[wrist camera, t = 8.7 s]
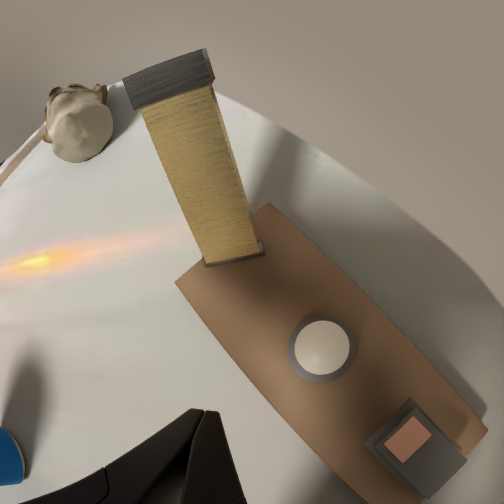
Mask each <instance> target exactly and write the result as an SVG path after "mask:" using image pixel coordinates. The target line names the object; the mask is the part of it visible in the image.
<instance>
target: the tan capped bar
mask: <svg viewBox="0 0 504 504" xmlns="http://www.w3.org/2000/svg"><path fill="white" fill-rule="evenodd" d="M214 79H215V76H214V73H213V70H212V66H211V63H210V60H209V57H208V54H207V50H206V48H204V49H200V50H197V51H194V52H191V53H187V54H185V55H182V56H179V57H176V58H173V59H170V60H167V61H164V62H162V63H160V64H157V65H154V66H151V67H149V68H146V69H144V70H142V71H139V72H137V73H134V74H132V75H130V76H128V77H125V78H123V79H122V81H123V83H124V86H125V89H126V91H127V94H128V96H129V99H130V102H131V104H132V107H133V109H134V110H136V109H138V108H140V111H141V113H142V116H143V118H144V121H145V124H146V126H147V129H148V131H149V133H150V136H151V138H152V141H153V143H154V146H155V148H156V151H157V153H158V155H159V158H160V160H161V163H162V165H163V167H164V170H165V172H166V174H167V177H168V179H169V181H170V184H171V186H172V188H173V191H174V193H175V195H176V198H177V200H178V202H179V204H180V207H181V209H182V211H183V213H184V216H185V218H186V220H187V222H188V225H189V227H190V229H191V231H192V233H193V236H194V238H195V240H196V242H197V244H198V246H199V249H200V251H201V253H202V258H203V263H204V265H205V267H206V268H209V267H214V266H219V265H223V264H228V263H233V262H238V261H243V260H248V259H252V258H257V257H262V256H265V249H264V245H263V241H262V239H260V240H259V239H258V235H257V232H256V228H255V225H254V222H253V218H252V215H251V211H250V208H249V205H248V201H247V198H246V195H245V191H244V188H243V185H242V181H241V178H240V175H239V171H238V168H237V165H236V161H235V158H234V155H233V151H232V148H231V145H230V142H229V138H228V135H227V132H226V128H225V125H224V122H223V119H222V115H221V112H220V109H219V106H218V102H217V99H216V96H215V93H214V89H213V86H212V83H213V81H214Z"/></svg>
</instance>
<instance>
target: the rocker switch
mask: <svg viewBox="0 0 504 504" xmlns="http://www.w3.org/2000/svg"><path fill="white" fill-rule="evenodd" d="M373 445H374V446H375V447H376V448H377V450H378V451H379V452H380V453H381V454H382V455H383V456H384V457H385V458H386V459H387V460H388V461H389V462H390V463H391V464H392V465H393V466H394V467H395V468H396V469H397V470H398V471H399V472H400V473H401V474H402V475H403V476H404V477H405V478H406V479H407V480H408V481H409V482H411V483H412V484H413V485H414V486H415V487H416V488H417V489H418V490H419V491H420V492H421V493H422V494H423V495H424V496H425V497H426V498H427V499H429V498H430V497H431V496H432V495H433V494H434V493H435V492H437V491H438V490H439V489H440V488H441V487H442V486H443V485H444V484H445V483H446V482H447V481H448V480H449V479H450V478H451V477H452V476H453V475H454V474H455V473H456V472H457V471H458V470H459V469H460V468H461V467H462V466H463V465H464V464H465V463H466V461H467V459H466V458H465V457H464V456H463V455H462V454H461V453H460V452H459V451H458V450H457V449H456V448H455V447H454V446H453V445H452V444H451V443H450V442H449V441H448V440H447V439H446V438H445V437H444V436H443V435H442V434H441V433H440V432H439V431H438V430H437V429H436V428H435V427H434V426H433V425H432V424H431V423H430V422H429V421H428V420H427V419H426V418H425V417H424V415H423V414H422V413H421V412H420V411H419V410H418V409H417V408H411V409H410V410H409V411H408V412H407V413H406V414H405V415H404V416H403V417H402V418H401V419H400V420H399V421H398V422H397V423H396V424H395V425H394V426H393V427H392V428H391V429H390V430H389V431H388V432H387V433H386V434H384V435H383V436H382V437H381V438H380V439H379V440H378V441H377V442H375V443H374V444H373Z"/></svg>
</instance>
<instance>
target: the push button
mask: <svg viewBox="0 0 504 504" xmlns="http://www.w3.org/2000/svg"><path fill="white" fill-rule="evenodd" d="M348 354H349V340H348V337H347V335H346V333H345V331H344V330H343V329H342V328H341V327H340V326H339V325H337V324H335V323H333V322H330V321H316V322H313V323H311V324H309V325H307V326H306V327H304V328H303V329H302V330H301V332H300V333H299V335H298V336H297V339H296V342H295V355H296V358H297V361H298V362H299V364H300V365H301V366H302V367H303V368H304V369H305V370H306V371H308V372H310V373H313V374H318V375H324V374H329V373H332V372H334V371H336V370H337V369H339V368H340V367H341V366H342V365H343V364H344V362H345V361H346V359H347V357H348Z"/></svg>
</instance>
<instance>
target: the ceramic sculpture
mask: <svg viewBox="0 0 504 504" xmlns="http://www.w3.org/2000/svg"><path fill="white" fill-rule="evenodd" d="M107 95H108V91H107V86H106V85H103V86H100V85H99V84H96V86H95V87H94V89H93V90H90V89H89V88H86V87H84V86H82V85H81V84H69V85H66V86H65V87H63V88H60V87H56V88H54V89H52V90H51V92H50V94H49V100H48V103H47V106H46V108H45V118H46V134H45V135H44V136H43V140H44V141H45V142H47V143H52V144H53V152H54V154H55V155H56V156H58V157H59V158H61V159H63V160H65V161H68V162H72V163H80V162H83V161H85V160H87V159H88V158H91V157H93V156H95V155H97V154H98V153H99V152H100V151H101V150H102V149H103V147H104V146H105V144H106V143H107V142H108V141H109V140H110V138H111V136H112V133H113V118H112V114H111V111H110V109H109V107H107V106H106V105H104V104H105V102H106V99H107Z"/></svg>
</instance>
